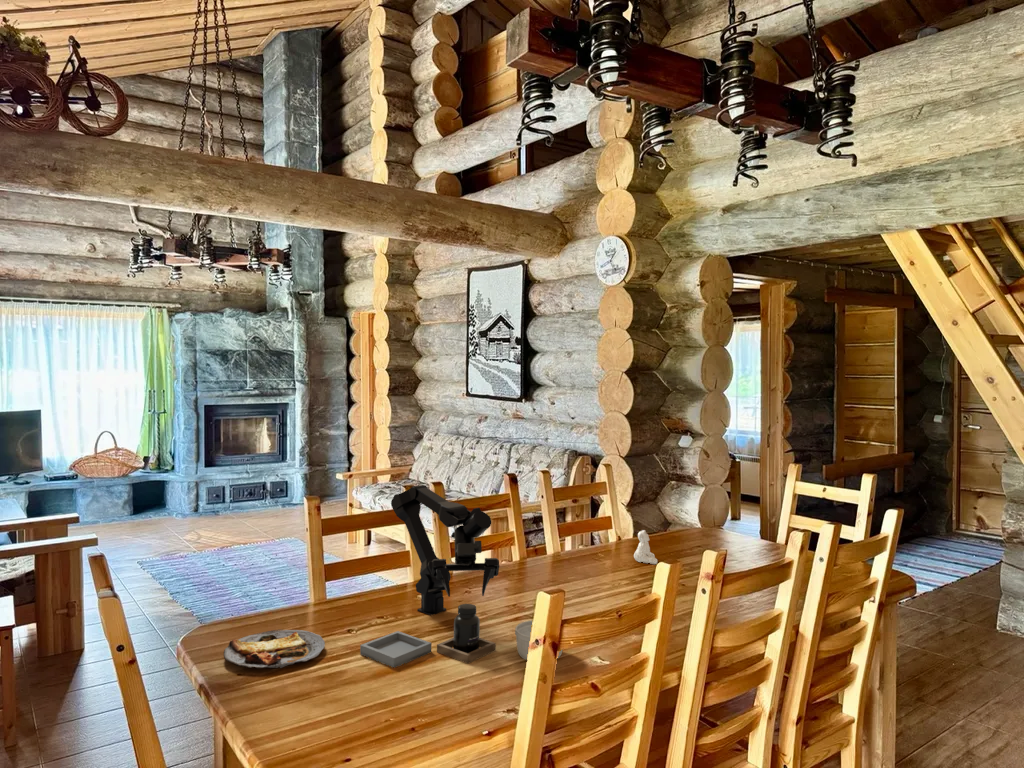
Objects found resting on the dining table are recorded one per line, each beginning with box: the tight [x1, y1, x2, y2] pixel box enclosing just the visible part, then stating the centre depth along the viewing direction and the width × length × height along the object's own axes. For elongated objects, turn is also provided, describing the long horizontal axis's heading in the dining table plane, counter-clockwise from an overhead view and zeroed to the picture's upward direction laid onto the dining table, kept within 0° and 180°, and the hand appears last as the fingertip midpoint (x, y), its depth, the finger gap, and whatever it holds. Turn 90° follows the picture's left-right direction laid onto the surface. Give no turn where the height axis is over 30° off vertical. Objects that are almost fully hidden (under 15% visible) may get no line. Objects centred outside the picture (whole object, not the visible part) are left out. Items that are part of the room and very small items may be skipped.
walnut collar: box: [436, 637, 497, 664], centre depth 194 cm, size 11×11×2 cm
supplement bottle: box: [453, 603, 481, 653], centre depth 194 cm, size 7×7×12 cm
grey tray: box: [359, 630, 433, 669], centre depth 192 cm, size 13×13×2 cm
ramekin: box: [514, 620, 563, 661], centre depth 193 cm, size 13×13×7 cm
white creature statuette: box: [633, 529, 658, 565], centre depth 283 cm, size 10×9×12 cm
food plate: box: [223, 629, 326, 669], centre depth 191 cm, size 25×23×4 cm
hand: (466, 595), depth 201 cm, fingers open, 9 cm apart
